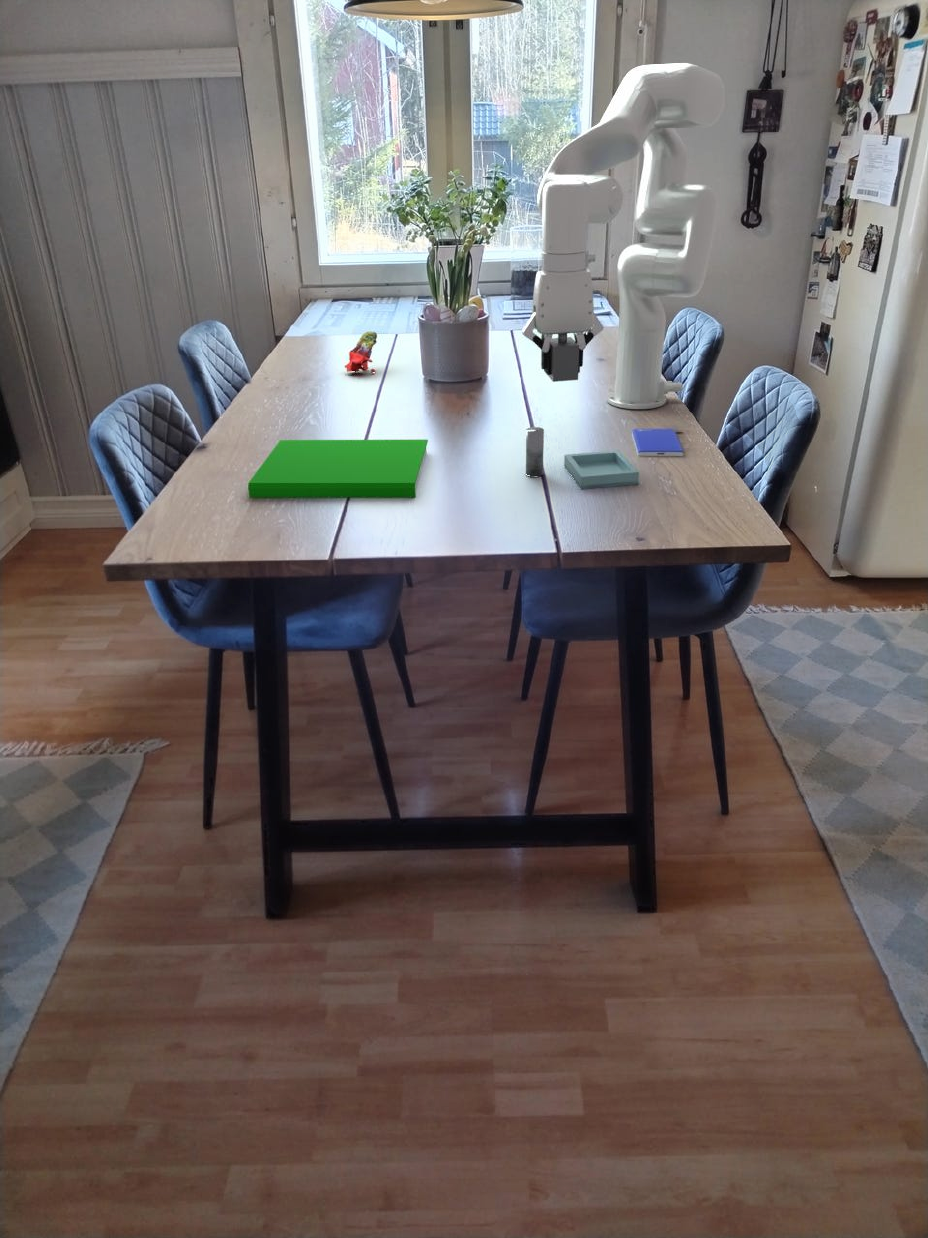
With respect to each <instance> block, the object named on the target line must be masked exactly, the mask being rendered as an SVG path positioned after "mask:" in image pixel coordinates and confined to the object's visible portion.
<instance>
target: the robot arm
mask: <svg viewBox="0 0 928 1238" xmlns="http://www.w3.org/2000/svg"><path fill="white" fill-rule="evenodd" d="M725 104H726V90H725V85H724V82H723V80H722V78H721V77H720V75H718V74H717V73H716V72H713V71H710V70H709V69H707V68H704V67H701V66H699V65H696V64H693V63H687V62H682V63H681V62H680V63H664V64H663V63H661V64H659V63H658V64H657V63H656V64H644V65H640V66H636V67H635V68H632V69H631V70H630V71H629V72H627V73H626V75H625V76H624V78H623V79H622V81H621V83H620V85H619V86H618V88H617V90H616V92H615V94H614V95H613V97H612V99H611V101H610V103H609V105H608V106H607V109H606V111H605V112H604V113H603V116H602V117H601V119H600V121H599V123H597V124H596V125H595V126H594V125H593V127H591V128H590V129H589V128H588V129H587V130H586V131H585V132H583V133H581V134H580V135H579V136H577V137H576V138H574V139H573V140H572V141H570V142H568V143H567V144H566V145H565V146H563V147H562V149H560V150H559V151H558V152H557V154H556V155H555V156H554V158H553V159H552V160H551V163H550V164H549V165H548V168H547V170H546V171H545V174H544V175H543V178H542V179H541V182H540V185H539V188H538V192H537V200H536V201H537V202H536V203H537V209H538V212H539V214H540V216H541V218H542V220H541V221H542V222H541V227H542V228H541V230H542V231H541V232H542V233H541V234H542V235H541V236H542V237H541V270H538V271H536V275H535V279H534V285H533V293H532V294H533V297H532V309H531V316H530V318H528V321H527V323H526V324H525V326H523V328H522V330H521V333H522V335H523V336H524V337H525V338H526V339H528V340H530V341H531V342H532V343H534V344H535V345H536V346H537V347H538V348H539V349H540V350H541V354H540V355H541V356H540V358H541V359H540V361H541V362H540V365H541V367H540V368H541V370H544V373H545V374H546V376H548V375H551V352H550V344H551V339H552V338H553V335H558V334H565V333H567V334H573V340H574V341H575V342H577V343H578V344H579V369H578V374H580V373H581V367H583V364H584V350H585V349H586V347H587V346H588V345H589V343H590V342H591V341H592V340H593V339H594V338H595V337H596V336H597V335H599V334H600V333H601V332H603V330H604V326H603V324H602V322H601V321H600V320H599V318H598V317H597V314H596V313H595V311H594V309H595V308H594V307H595V305H594V304H595V303H594V291H593V289H594V288H593V281H592V274H591V270H590V269H589V268H588V267H589V265H590V264H591V263H595V262H596V253H591V252H589V250H588V248H589V247H588V243H589V242H588V241H589V238H588V237H589V225H600V226H601V225H605V224H608V223H610V222H611V221H614V219H615V218H616V217H617V216H618V214H619V212H620V211H621V209H622V205H623V200H624V197H623V195H624V194H623V190H622V187H621V185H620V184H621V183H619V181H617V179H616V178H614V177H612V176H610V175H604V174H597V173H600V172H604V171H608V170H610V169H614V168H616V167H618V166H621V165H623V164H626V163H628V162H630V161H632V160H633V159H635V158H636V157H637V156H638V155H639V153H640V152H641V150H642V149H643V164H642V171H641V177H640V182H639V187H638V192H637V199H636V204H635V209H634V211H635V212H634V227H635V229H636V230H637V232H638V233H639V234H641V235H643V236H649V237H656V238H657V237H658V238H671V239H676V238H677V239H684V244H671V243H670V244H669V243H658V242H640V243H634V244H630V245H628V246H626V247H625V248H624V249H623V250H622V252H621V253H620V254H619V256H618V260H617V267H616V273H617V283H618V294H619V316H618V317H619V318H618V333H617V349H616V351H617V352H616V366H615V367H616V368H615V383H614V390H613V391H610V392H608V394H607V395H606V396H607V397H606V402H607V403H608V404H610V405H612V406H613V407H617V408H620V409H627V410H649V409H655V408H660V407H662V406H664V405H665V404H666V403H667V394H668V393H669V392H671V393H672V392H673V393H676V392H678V393H679V392H682V391H683V383H682V381H681V382H680V381H679V382H673V381H672V380H667V381H665V380H663V379H662V369H663V359H664V358H663V357H664V349H665V348H664V346H665V335H666V323H667V318H666V317H667V316H666V312H665V311H666V310H665V309H664V306H663V304H662V302H661V300H660V299H659V296H660V297H671V298H672V297H674V298H675V297H676V298H692V297H695V296H696V295H698V294H699V293H700V292H701V290H702V287H703V285H704V284H705V279H706V276H707V272H708V266H709V261H710V257H711V252H712V246H713V242H714V236H715V232H716V226H717V222H718V221H717V220H718V215H719V214H718V213H719V211H718V210H719V202H718V196H717V193H716V192H715V190H714V189H713V188H712V187H710V186H708V185H707V184H700V183H699V184H697V183H686V177H687V171H688V166H689V155H688V150H687V148H686V145H685V143H684V142H683V140H682V138H681V136H680V135H679V133H678V132H677V130H676V129H688V128H689V129H690V128H691V129H692V128H693V129H694V128H698V129H699V128H702V129H703V128H709V127H711V126H713V125H715V124H716V123H718V122H717V121H719V119H720V117H721V115H722V113H723V111H724V108H725ZM534 329H536V332H537V333H538V334H540V335H541V336H538V334H536V333H534Z"/></svg>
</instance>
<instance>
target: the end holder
mask: <svg viewBox="0 0 928 1238" xmlns="http://www.w3.org/2000/svg"><path fill="white" fill-rule="evenodd" d="M563 456H564V457H563V467H564V466H565V467H564V469H565V470H566V469H567V470H568V471H567V470H566V471H567V473H568V472H569V473H570V474H571V475H572V477H573V478H574V479H573V478H572V477H571V478H572V479H573V481H574V480H575V481H576V482H575V481H574V482H575V484H576V483H577V484H578V485H579V486H578V485H577V484H576V485H577V486H578V488H579V487H580V488H581V489H580V488H579V489H580V490H585V489H584V488H589V489H597V488H598V489H599V488H600V487H601V488H609V487H610V488H613V487H620V486H621V487H622V486H632V485H633V486H634V485H639V479H640V477H639V475H640V471H639V470H638V469H637V468H636V467H635V466H634V465H633V464H632V463H631V462H630V461H629V459H627V457H626V456H625V455H624V454H623V453H622V452H621V450H616V449H615V450H609V451H608V450H607V451H605V450H604V451H594V452H593V451H592V452H583V453H582V452H581V453H570V454H569V453H568V454H564V455H563ZM569 473H568V474H569ZM570 474H569V475H570ZM571 475H570V476H571Z"/></svg>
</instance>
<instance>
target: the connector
mask: <svg viewBox="0 0 928 1238" xmlns="http://www.w3.org/2000/svg"><path fill="white" fill-rule="evenodd" d="M550 352H551V375H547V377H549V379H550V380H551V382H567V381H578V380H579V373H578V369H579V344H578V343H577V342H575V339H574V338H573V337H572V336H569V337H568V333H565V334H557V337H554V338H553V337H552V339H551V344H550Z"/></svg>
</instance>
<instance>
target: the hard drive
mask: <svg viewBox="0 0 928 1238" xmlns="http://www.w3.org/2000/svg"><path fill="white" fill-rule="evenodd" d="M631 436H632V440H633V442H634V443H633V444H634V447H635V450H636V453H637V456H638V457H683V456H684V454H685V453H684V449H683V447H682V445H681V443H680V440H679V437H678V435H677V433H676V430H675V429H674V428H634V429H631Z"/></svg>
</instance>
